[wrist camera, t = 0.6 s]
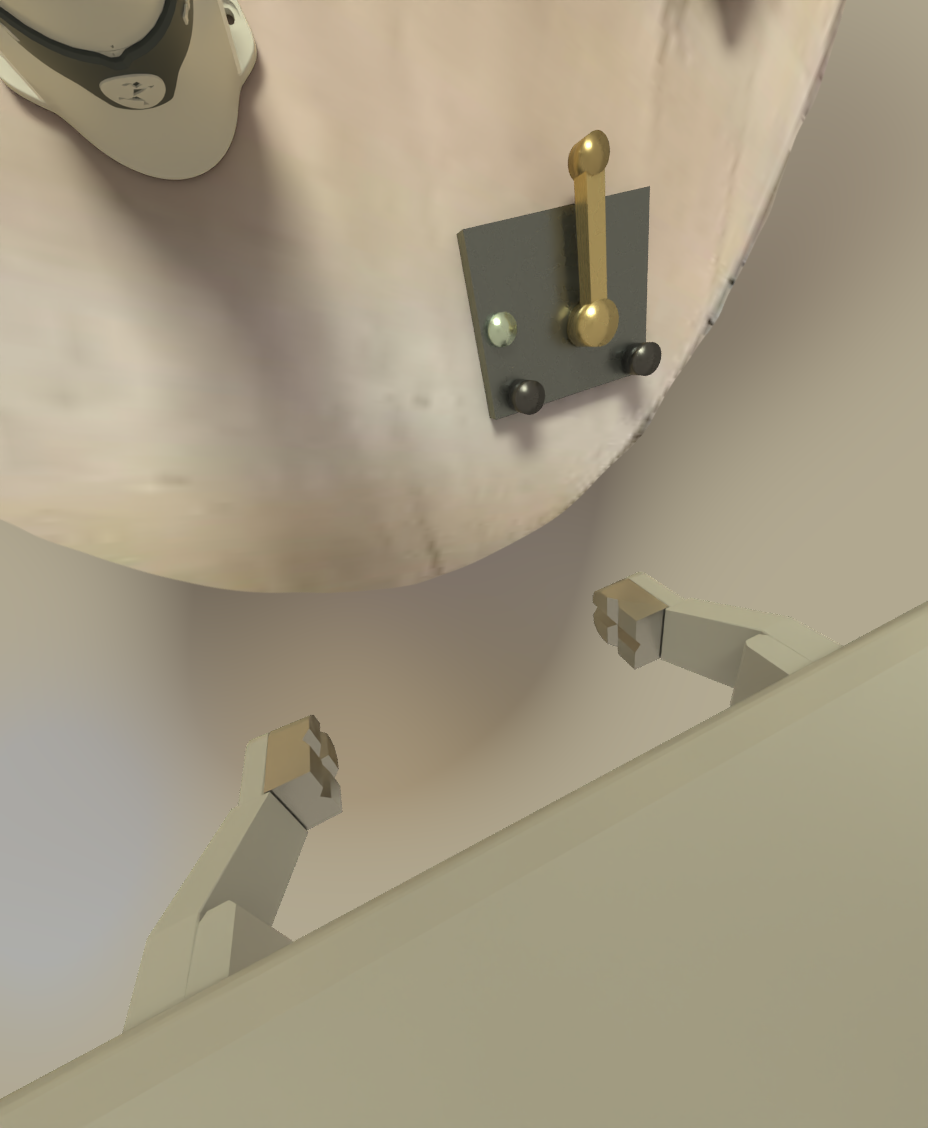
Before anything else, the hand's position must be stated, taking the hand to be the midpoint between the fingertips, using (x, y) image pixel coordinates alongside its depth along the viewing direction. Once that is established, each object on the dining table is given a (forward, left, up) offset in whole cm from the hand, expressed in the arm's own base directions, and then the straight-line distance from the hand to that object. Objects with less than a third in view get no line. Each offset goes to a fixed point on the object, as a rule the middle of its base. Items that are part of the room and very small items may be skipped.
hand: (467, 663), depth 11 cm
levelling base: (-4, +31, -45) cm, 55 cm away
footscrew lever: (-10, +33, -43) cm, 55 cm away
